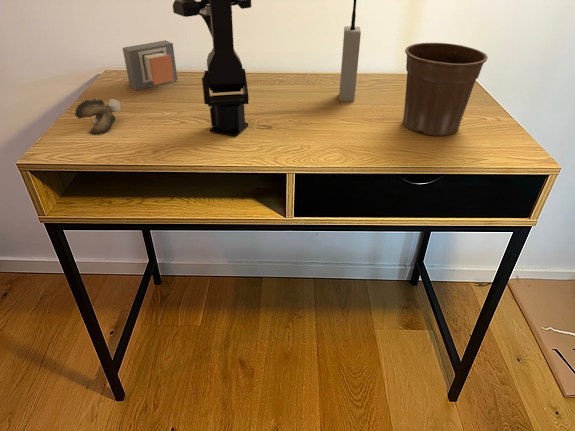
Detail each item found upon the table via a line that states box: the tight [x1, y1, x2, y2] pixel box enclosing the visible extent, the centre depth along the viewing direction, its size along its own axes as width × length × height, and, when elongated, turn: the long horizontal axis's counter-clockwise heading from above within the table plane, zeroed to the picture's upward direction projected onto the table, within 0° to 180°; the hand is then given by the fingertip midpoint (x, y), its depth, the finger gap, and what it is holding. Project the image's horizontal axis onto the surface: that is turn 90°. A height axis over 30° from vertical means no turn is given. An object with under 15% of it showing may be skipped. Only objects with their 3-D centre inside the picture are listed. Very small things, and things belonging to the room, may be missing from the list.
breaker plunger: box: [142, 52, 174, 84], centre depth 120 cm, size 10×5×6 cm, turn 39°
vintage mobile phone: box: [338, 0, 362, 103], centre depth 109 cm, size 4×5×25 cm
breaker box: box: [122, 39, 178, 91], centre depth 121 cm, size 4×12×10 cm, turn 129°
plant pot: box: [402, 42, 489, 137], centre depth 99 cm, size 16×16×16 cm
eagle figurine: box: [74, 97, 122, 136], centre depth 100 cm, size 8×7×9 cm
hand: (216, 41), depth 115 cm, fingers closed
